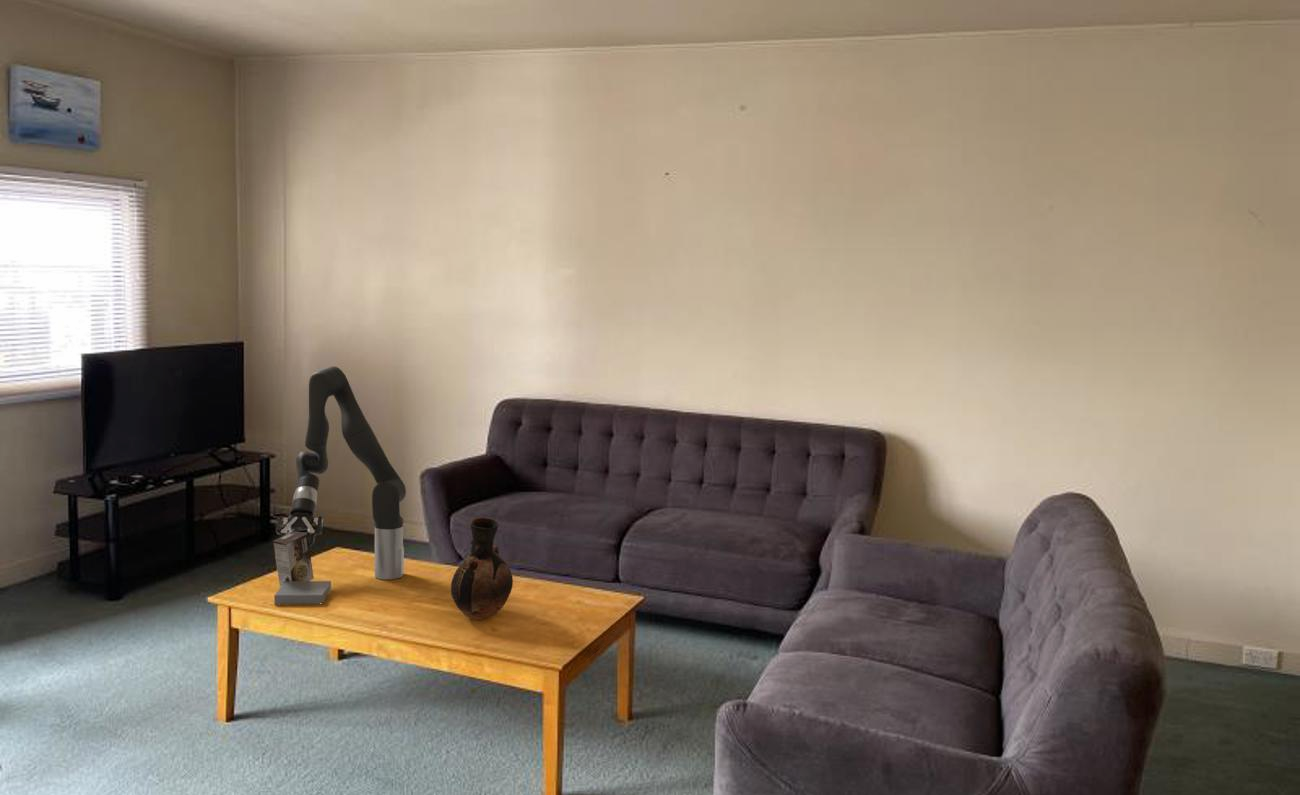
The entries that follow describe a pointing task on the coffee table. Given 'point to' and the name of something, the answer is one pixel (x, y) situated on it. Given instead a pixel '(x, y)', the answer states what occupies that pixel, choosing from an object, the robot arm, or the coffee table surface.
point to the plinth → (302, 592)
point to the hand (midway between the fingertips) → (296, 545)
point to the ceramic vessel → (482, 574)
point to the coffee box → (293, 557)
